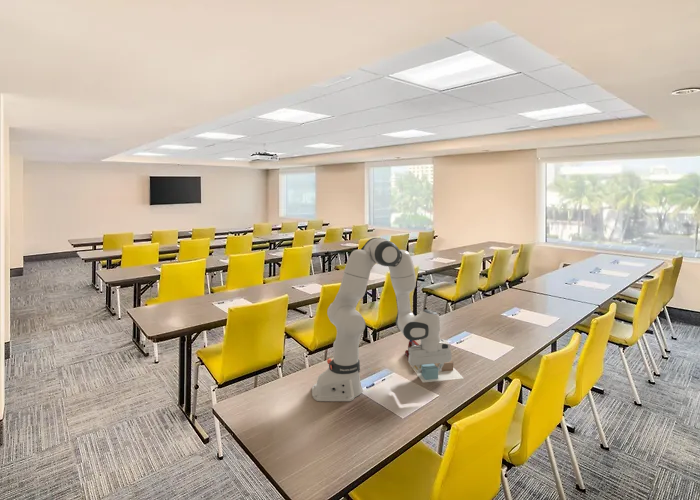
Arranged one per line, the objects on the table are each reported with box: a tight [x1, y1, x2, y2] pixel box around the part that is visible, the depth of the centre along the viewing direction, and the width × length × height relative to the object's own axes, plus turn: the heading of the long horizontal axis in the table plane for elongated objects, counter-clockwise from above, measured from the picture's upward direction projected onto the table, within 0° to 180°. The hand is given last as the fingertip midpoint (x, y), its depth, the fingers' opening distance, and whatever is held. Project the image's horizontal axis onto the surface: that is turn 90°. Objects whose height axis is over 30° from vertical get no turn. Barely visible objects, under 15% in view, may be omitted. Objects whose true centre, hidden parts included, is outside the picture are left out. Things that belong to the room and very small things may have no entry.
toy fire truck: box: [404, 340, 420, 359], centre depth 202 cm, size 7×12×10 cm, turn 12°
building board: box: [409, 360, 464, 384], centre depth 186 cm, size 20×19×5 cm
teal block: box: [421, 364, 438, 380], centre depth 181 cm, size 6×6×5 cm
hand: (429, 371), depth 181 cm, fingers open, 8 cm apart
